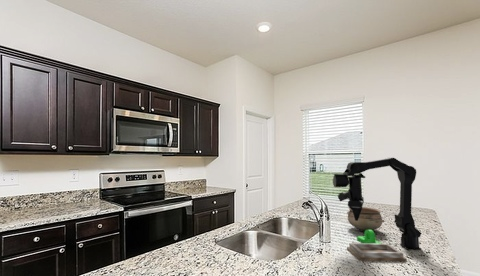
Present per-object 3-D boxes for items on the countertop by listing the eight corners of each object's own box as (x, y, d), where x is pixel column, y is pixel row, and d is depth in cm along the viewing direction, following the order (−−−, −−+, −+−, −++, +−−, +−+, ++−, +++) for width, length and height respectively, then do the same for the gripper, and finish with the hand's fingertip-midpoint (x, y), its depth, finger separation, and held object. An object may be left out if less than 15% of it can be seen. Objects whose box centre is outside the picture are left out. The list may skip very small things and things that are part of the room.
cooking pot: (395, 234, 142) (394, 212, 143) (372, 238, 134) (371, 215, 135) (358, 223, 165) (358, 205, 166) (337, 226, 157) (336, 207, 158)
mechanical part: (383, 247, 122) (382, 231, 122) (372, 248, 121) (371, 231, 121) (367, 239, 133) (366, 224, 134) (357, 240, 132) (356, 224, 133)
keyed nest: (389, 249, 118) (389, 243, 119) (406, 261, 105) (406, 253, 106) (346, 249, 119) (346, 242, 119) (358, 260, 106) (358, 253, 106)
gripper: (340, 184, 138) (342, 213, 137) (335, 188, 122) (337, 221, 120) (362, 185, 133) (364, 215, 132) (361, 189, 116) (363, 223, 115)
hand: (357, 218), depth 125 cm, fingers open, 9 cm apart
